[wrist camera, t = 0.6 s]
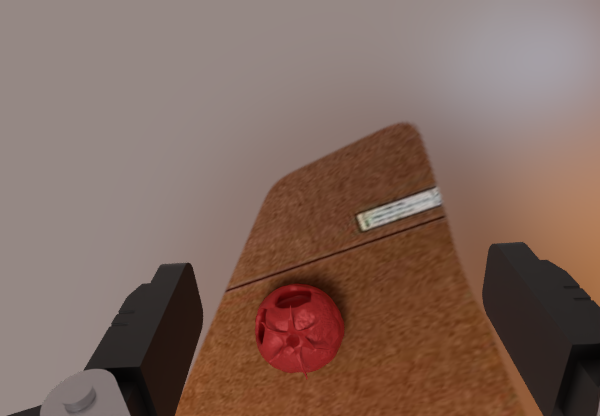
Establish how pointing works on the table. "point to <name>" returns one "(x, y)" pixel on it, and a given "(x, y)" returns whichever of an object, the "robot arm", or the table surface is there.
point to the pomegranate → (298, 328)
